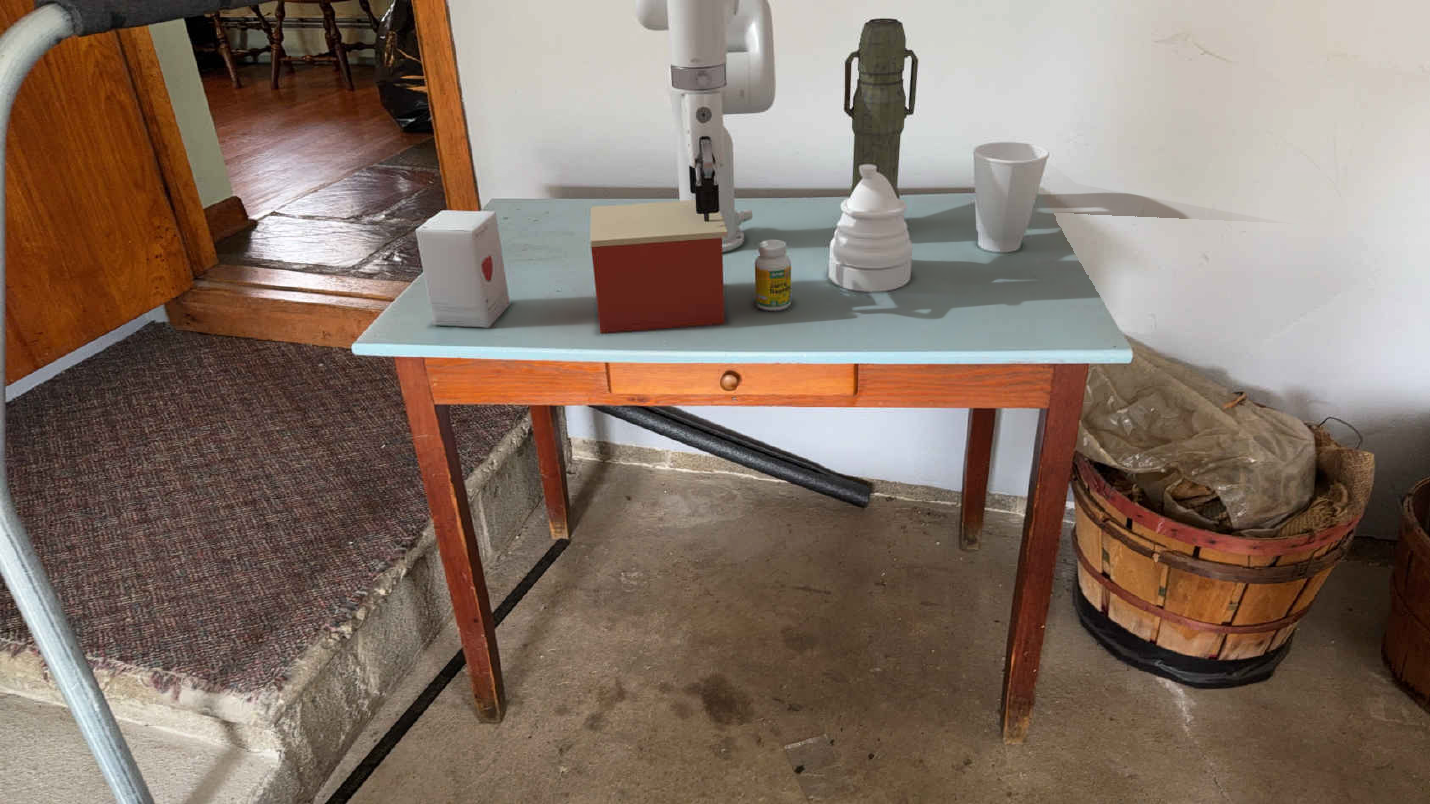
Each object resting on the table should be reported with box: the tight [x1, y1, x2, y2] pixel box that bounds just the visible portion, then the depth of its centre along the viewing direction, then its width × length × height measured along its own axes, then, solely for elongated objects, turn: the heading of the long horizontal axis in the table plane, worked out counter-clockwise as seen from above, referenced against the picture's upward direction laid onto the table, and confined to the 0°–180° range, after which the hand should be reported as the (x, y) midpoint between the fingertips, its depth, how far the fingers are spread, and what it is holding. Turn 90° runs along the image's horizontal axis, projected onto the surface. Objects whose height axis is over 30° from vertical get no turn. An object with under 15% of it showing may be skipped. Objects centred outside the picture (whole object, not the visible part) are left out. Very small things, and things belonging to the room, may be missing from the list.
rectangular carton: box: [415, 209, 510, 329], centre depth 136 cm, size 9×9×15 cm
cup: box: [972, 141, 1050, 253], centre depth 154 cm, size 12×12×16 cm
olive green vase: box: [843, 17, 919, 200], centre depth 159 cm, size 9×12×35 cm
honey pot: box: [828, 164, 913, 293], centre depth 143 cm, size 13×13×18 cm
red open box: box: [590, 238, 726, 334], centre depth 137 cm, size 18×15×13 cm
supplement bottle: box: [754, 239, 792, 312], centre depth 137 cm, size 5×5×10 cm
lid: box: [590, 182, 728, 248], centre depth 132 cm, size 19×15×5 cm
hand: (704, 202), depth 132 cm, fingers open, 9 cm apart
